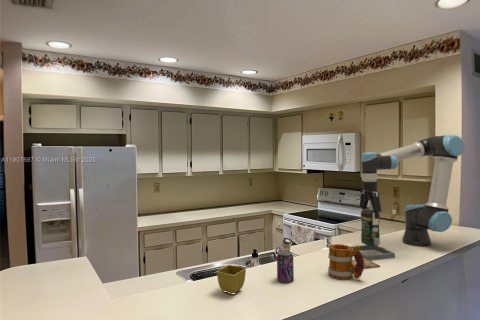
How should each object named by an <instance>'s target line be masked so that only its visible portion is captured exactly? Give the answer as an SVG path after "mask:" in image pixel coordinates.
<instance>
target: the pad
mask: <svg viewBox="0 0 480 320" xmlns="http://www.w3.org/2000/svg"><path fill="white" fill-rule="evenodd" d="M363 260H364V270H365V269H373V268H374V269H376V268H380V267H381V265H380V264H378V263H376V262H374V261H373V260H368V259H365V258H364V259H363ZM356 263H357V262H356V260H355V259H352V265H353V266H354V267H356Z"/></svg>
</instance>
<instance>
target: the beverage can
mask: <svg viewBox="0 0 480 320" xmlns="http://www.w3.org/2000/svg"><path fill="white" fill-rule="evenodd" d="M294 267H295V266H294V255H293V252H292V251H289V250H278V252H277V255H276V277H277V278H276V279H277V280H278V281H279V282H281V281H282V282H281V283H291V282H293V281H294V279H295V275H294Z"/></svg>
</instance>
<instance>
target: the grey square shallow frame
mask: <svg viewBox="0 0 480 320" xmlns="http://www.w3.org/2000/svg"><path fill="white" fill-rule="evenodd" d="M356 246H357V245H353V246H350V247H351V248H352V250H353V249H354V248H355V247H356ZM359 246H360V247H361V248H360V251H359V252H361V251H370V250H374V251H375V252H378V253H377V254H365V253H363V252H361V253H362V256H363V259H364V258H365V259H368V260H370V261H379V260H387V259H395V258H396V253H395V252H394V251H391V250H389V249H386V247H384V246H380V245H378V246H368V245H365V244H362V245H359Z"/></svg>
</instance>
